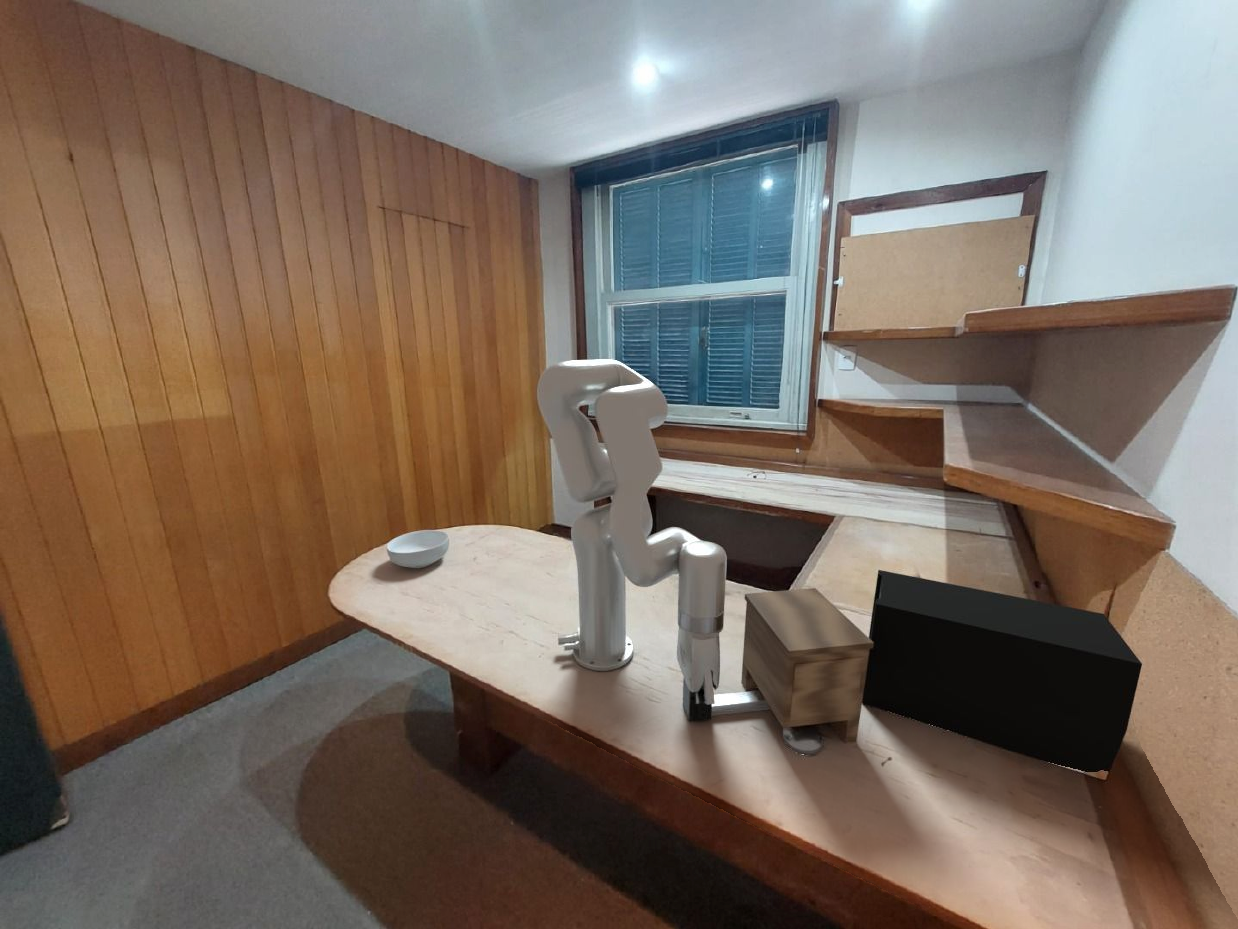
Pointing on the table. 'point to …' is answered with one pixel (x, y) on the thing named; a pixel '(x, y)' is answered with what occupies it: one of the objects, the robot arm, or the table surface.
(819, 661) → the walnut cabinet
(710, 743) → the table surface
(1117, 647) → the uninterruptible power supply
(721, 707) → the metal handled mallet
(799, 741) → the steel token
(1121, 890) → the table surface
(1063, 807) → the table surface
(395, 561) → the cereal bowl
